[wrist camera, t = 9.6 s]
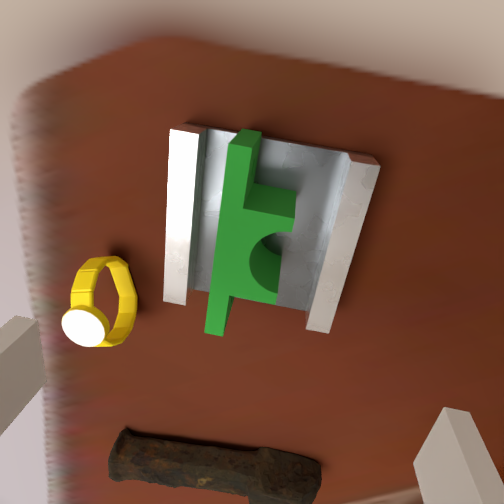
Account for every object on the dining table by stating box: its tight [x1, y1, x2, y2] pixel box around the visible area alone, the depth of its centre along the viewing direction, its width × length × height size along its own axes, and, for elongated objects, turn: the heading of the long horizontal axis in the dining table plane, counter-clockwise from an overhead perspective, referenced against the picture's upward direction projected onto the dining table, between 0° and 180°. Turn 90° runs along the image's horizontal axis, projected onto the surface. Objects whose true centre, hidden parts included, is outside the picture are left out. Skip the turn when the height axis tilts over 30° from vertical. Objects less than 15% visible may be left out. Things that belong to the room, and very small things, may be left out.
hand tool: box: [108, 428, 322, 504], centre depth 33 cm, size 19×4×5 cm, turn 87°
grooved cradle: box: [163, 122, 381, 333], centre depth 23 cm, size 11×11×3 cm
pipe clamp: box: [204, 129, 296, 336], centre depth 21 cm, size 11×4×5 cm, turn 171°
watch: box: [62, 256, 138, 347], centre depth 25 cm, size 6×3×6 cm, turn 8°
